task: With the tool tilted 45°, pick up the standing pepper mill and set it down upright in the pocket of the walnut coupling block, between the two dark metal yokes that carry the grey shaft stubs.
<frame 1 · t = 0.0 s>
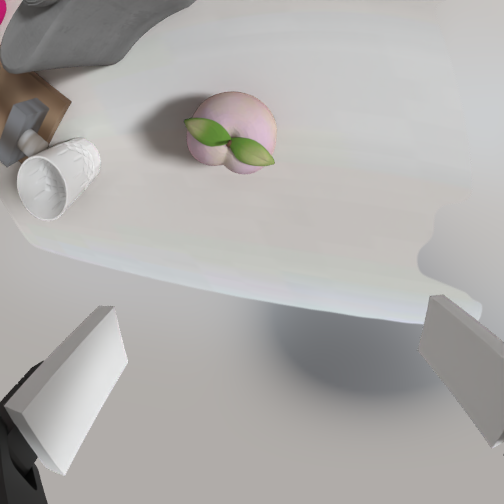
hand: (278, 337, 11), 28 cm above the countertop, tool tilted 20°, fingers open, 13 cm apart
coupling block: (13, 103, 28), on the countertop
white cup: (81, 160, 34), on the countertop
flask: (142, 17, 24), on the countertop
decorative fruit: (235, 122, 33), on the countertop
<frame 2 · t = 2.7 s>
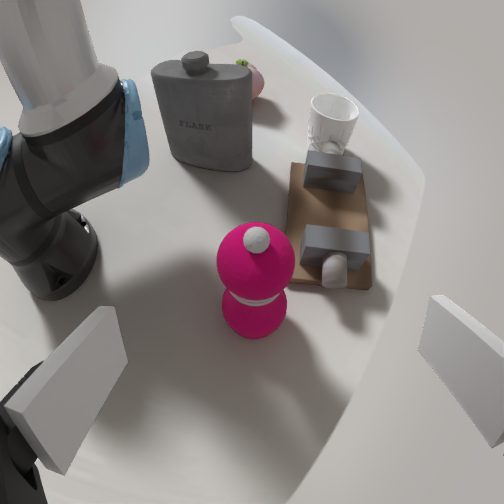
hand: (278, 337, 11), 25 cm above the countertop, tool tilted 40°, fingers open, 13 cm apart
coupling block: (327, 222, 43), on the countertop
white cup: (324, 150, 51), on the countertop
flask: (209, 157, 50), on the countertop
pepper mill: (254, 315, 37), on the countertop
decorative fruit: (242, 101, 58), on the countertop
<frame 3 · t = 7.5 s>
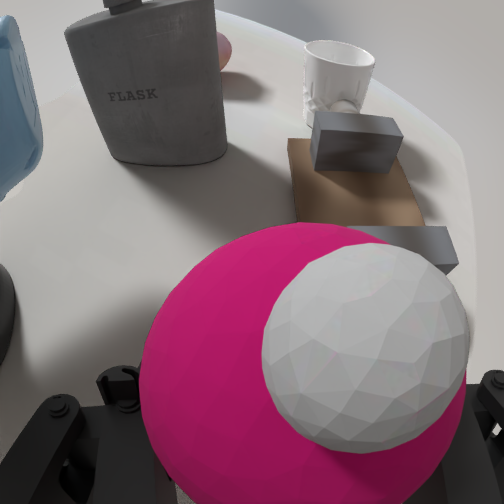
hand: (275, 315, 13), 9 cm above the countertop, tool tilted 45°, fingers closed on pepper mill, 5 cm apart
coupling block: (360, 221, 26), on the countertop
white cup: (328, 121, 34), on the countertop
flask: (164, 150, 32), on the countertop
pepper mill: (270, 402, 19), on the countertop, touching gripper
decorative fruit: (204, 79, 41), on the countertop
when the fingers open (11 cm above the countertop, at t = 13.1 s): pepper mill moves 3 cm, resting on coupling block.
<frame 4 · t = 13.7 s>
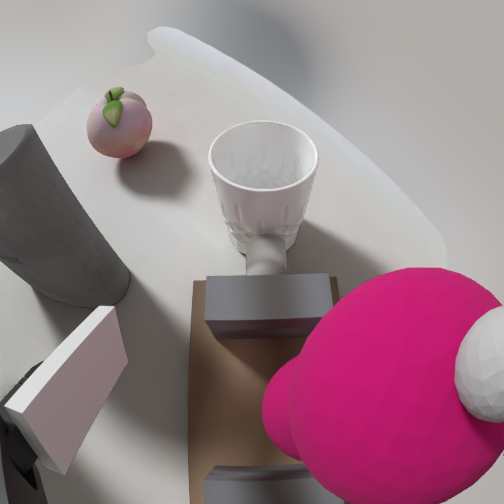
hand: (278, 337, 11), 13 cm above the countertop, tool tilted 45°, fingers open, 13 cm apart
coupling block: (269, 402, 21), on the countertop
white cup: (262, 230, 29), on the countertop
flask: (71, 278, 27), on the countertop
pepper mill: (310, 408, 19), point 1 cm above the countertop, touching coupling block
decorative fruit: (130, 154, 36), on the countertop
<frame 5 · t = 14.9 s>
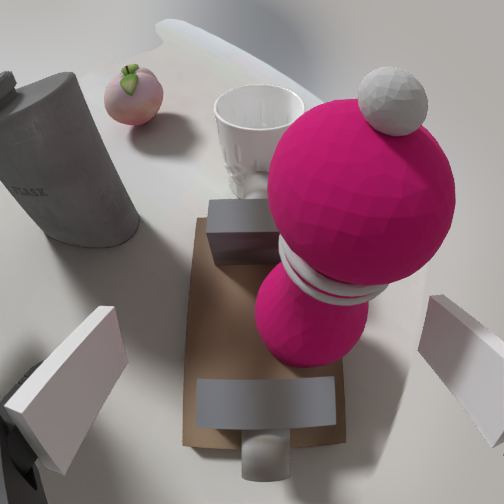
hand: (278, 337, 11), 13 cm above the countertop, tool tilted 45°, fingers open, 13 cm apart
coupling block: (262, 326, 24), on the countertop
white cup: (259, 182, 32), on the countertop
flask: (84, 225, 30), on the countertop
pepper mill: (302, 329, 23), point 1 cm above the countertop, touching coupling block
decorative fruit: (141, 124, 39), on the countertop
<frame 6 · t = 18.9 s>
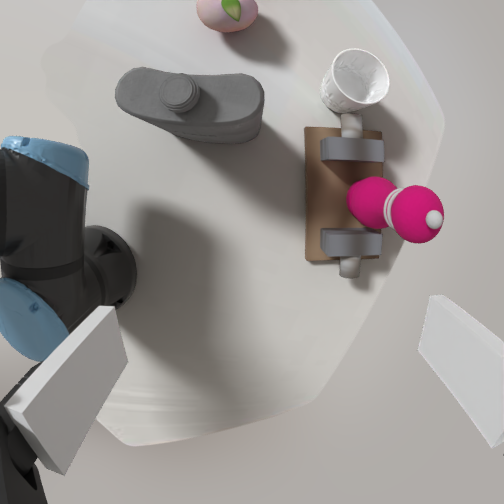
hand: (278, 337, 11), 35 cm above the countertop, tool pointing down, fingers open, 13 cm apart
coupling block: (343, 193, 44), on the countertop
white cup: (340, 93, 40), on the countertop
flask: (209, 124, 41), on the countertop
pepper mill: (364, 199, 43), point 1 cm above the countertop, touching coupling block
decorative fruit: (228, 22, 37), on the countertop
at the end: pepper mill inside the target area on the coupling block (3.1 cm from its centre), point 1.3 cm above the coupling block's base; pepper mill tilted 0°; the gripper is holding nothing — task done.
